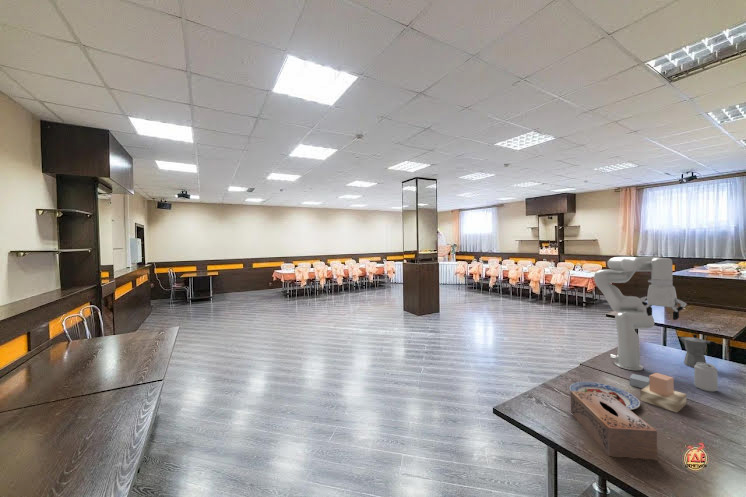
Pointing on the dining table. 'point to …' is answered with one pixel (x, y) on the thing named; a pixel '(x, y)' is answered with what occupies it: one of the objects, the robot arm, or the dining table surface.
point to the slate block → (639, 381)
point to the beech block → (664, 399)
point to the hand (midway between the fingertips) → (662, 317)
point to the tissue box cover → (614, 425)
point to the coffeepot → (696, 350)
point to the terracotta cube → (661, 384)
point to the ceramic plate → (617, 393)
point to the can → (706, 377)
